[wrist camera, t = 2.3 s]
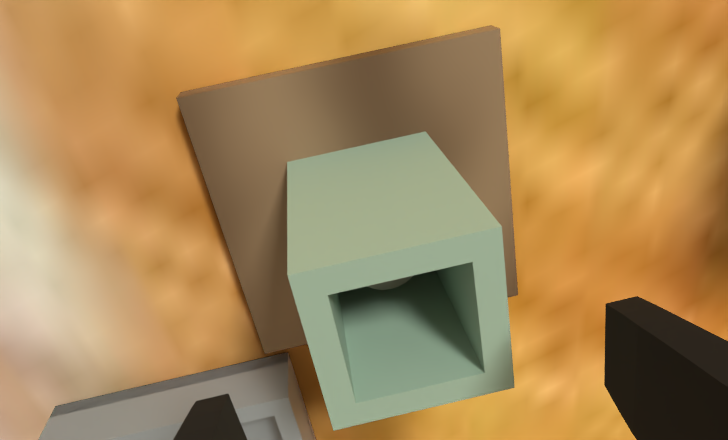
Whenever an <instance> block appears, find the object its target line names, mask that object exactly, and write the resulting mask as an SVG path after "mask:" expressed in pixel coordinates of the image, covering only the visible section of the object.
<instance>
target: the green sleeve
mask: <svg viewBox="0 0 728 440" xmlns="http://www.w3.org/2000/svg"><path fill="white" fill-rule="evenodd" d="M287 276H288V279H289V282H290V286H291V289H292V292H293V296H294V299H295V303H296V306H297V309H298V313H299V316H300V319H301V323H302V326H303V330H304V333H305V336H306V340H307V343H308V346H309V350H310V353H311V357H312V360H313V363H314V367H315V370H316V373H317V377H318V380H319V384H320V387H321V390H322V394H323V397H324V400H325V404H326V407H327V411H328V414H329V417H330V421H331V424H332V427H333V431H334V430H339V429H343V428H347V427H351V426H355V425H360V424H364V423H368V422H372V421H376V420H381V419H385V418H389V417H393V416H397V415H402V414H406V413H410V412H414V411H418V410H423V409H427V408H431V407H435V406H439V405H443V404H448V403H452V402H456V401H460V400H464V399H469V398H473V397H477V396H481V395H485V394H490V393H494V392H498V391H502V390H506V389H511V388H514V375H513V363H512V350H511V337H510V324H509V312H508V299H507V286H506V273H505V261H504V248H503V235H502V226H501V225H500V224H499V222H498V221H497V220H496V219H495V217H494V216H493V215H492V214H491V212H490V211H489V210H488V209H487V207H486V206H485V205H484V204H483V202H482V201H481V200H480V199H479V197H478V196H477V195H476V194H475V192H474V191H473V190H472V189H471V187H470V186H469V185H468V184H467V182H466V181H465V180H464V179H463V177H462V176H461V175H460V174H459V172H458V171H457V170H456V169H455V167H454V166H453V165H452V164H451V163H450V161H449V160H448V159H447V158H446V156H445V155H444V154H443V153H442V151H441V150H440V149H439V148H438V146H437V145H436V144H435V143H434V141H433V140H432V139H431V138H430V136H429V135H428V134H427V133H426V131H425V132H421V133H416V134H412V135H407V136H403V137H398V138H394V139H389V140H384V141H380V142H375V143H371V144H366V145H362V146H357V147H353V148H348V149H344V150H339V151H335V152H330V153H326V154H321V155H317V156H312V157H308V158H303V159H299V160H294V161H290V162H287ZM409 276H412V277H411V278H410V279H409V280H408V281H407V282H406V283H404V284H402V285H401V286H398V287H396V288H392V289H387V290H378V289H373V288H370V287H368V286H370V285H374V284H378V283H383V282H387V281H392V280H396V279H400V278H405V277H409Z"/></svg>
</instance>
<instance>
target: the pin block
mask: <svg viewBox="0 0 728 440" xmlns="http://www.w3.org/2000/svg"><path fill="white" fill-rule="evenodd" d="M177 101H178V104H179V107H180V110H181V113H182V116H183V119H184V122H185V124H186V127H187V130H188V133H189V136H190V139H191V142H192V145H193V148H194V150H195V153H196V156H197V159H198V162H199V165H200V168H201V171H202V174H203V177H204V179H205V182H206V185H207V188H208V191H209V194H210V197H211V200H212V203H213V205H214V208H215V211H216V214H217V217H218V220H219V223H220V226H221V229H222V231H223V234H224V237H225V240H226V243H227V246H228V249H229V252H230V255H231V257H232V260H233V263H234V266H235V269H236V272H237V275H238V278H239V281H240V283H241V286H242V289H243V292H244V295H245V298H246V301H247V304H248V307H249V309H250V312H251V315H252V318H253V321H254V324H255V327H256V330H257V333H258V335H259V338H260V341H261V344H262V347H263V350H264V353H265V354H267V353H271V352H275V351H280V350H284V349H288V348H293V347H297V346H301V345H305V344H308V343H307V340H306V336H305V333H304V330H303V326H302V323H301V319H300V316H299V313H298V309H297V306H296V303H295V299H294V296H293V292H292V289H291V286H290V282H289V279H288V276H287V162H290V161H294V160H299V159H303V158H308V157H312V156H317V155H321V154H326V153H330V152H335V151H339V150H344V149H348V148H353V147H357V146H362V145H366V144H371V143H375V142H380V141H384V140H389V139H394V138H398V137H403V136H407V135H412V134H416V133H421V132H425V131H426V133H427V134H428V135H429V136H430V138H431V139H432V140H433V141H434V143H435V144H436V145H437V146H438V148H439V149H440V150H441V151H442V153H443V154H444V155H445V156H446V158H447V159H448V160H449V161H450V163H451V164H452V165H453V166H454V167H455V169H456V170H457V171H458V172H459V174H460V175H461V176H462V177H463V179H464V180H465V181H466V182H467V184H468V185H469V186H470V187H471V189H472V190H473V191H474V192H475V194H476V195H477V196H478V197H479V199H480V200H481V201H482V202H483V204H484V205H485V206H486V207H487V209H488V210H489V211H490V212H491V214H492V215H493V216H494V217H495V219H496V220H497V221H498V222H499V224H500V225H501V226H502V235H503V248H504V261H505V273H506V286H507V297H512V296H516V295H518V288H517V273H516V259H515V244H514V229H513V214H512V199H511V185H510V170H509V155H508V140H507V125H506V111H505V96H504V81H503V66H502V51H501V37H500V28H497V27H494V26H486V27H482V28H477V29H473V30H468V31H463V32H459V33H454V34H449V35H445V36H440V37H435V38H431V39H426V40H421V41H417V42H412V43H408V44H403V45H398V46H394V47H389V48H384V49H380V50H375V51H370V52H366V53H361V54H356V55H352V56H347V57H343V58H338V59H333V60H329V61H324V62H319V63H315V64H310V65H305V66H301V67H296V68H291V69H287V70H282V71H278V72H273V73H268V74H264V75H259V76H254V77H250V78H245V79H240V80H236V81H231V82H226V83H222V84H217V85H213V86H208V87H203V88H199V89H194V90H189V91H185V92H181V93H180V94H179V96H178V97H177ZM411 277H412V276H409V277H405V278H400V279H396V280H392V281H387V282H383V283H378V284H374V285H370V286H368V287H370V288H373V289H378V290H387V289H392V288H396V287H398V286H401V285H402V284H404V283H406V282H407V281H408V280H409V279H410V278H411Z"/></svg>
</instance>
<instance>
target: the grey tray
mask: <svg viewBox="0 0 728 440" xmlns="http://www.w3.org/2000/svg"><path fill="white" fill-rule="evenodd" d="M224 394H229V396H230V399H231V401H232V403H233V406H234V408H235V411H236V413H237V416H238V418H239V421H240V423H241V425H242V428H243V430H244V433H245V435H246V438H247V440H316V438H315V435H314V432H313V429H312V426H311V422H310V419H309V416H308V413H307V410H306V407H305V404H304V401H303V398H302V394H301V391H300V388H299V385H298V382H297V379H296V376H295V373H294V369H293V366H292V363H291V360H290V357H289V354H288V352H287V353H282V354H278V355H274V356H269V357H265V358H261V359H257V360H252V361H248V362H244V363H239V364H235V365H231V366H226V367H222V368H218V369H214V370H209V371H205V372H201V373H196V374H192V375H188V376H184V377H179V378H175V379H171V380H166V381H162V382H158V383H153V384H149V385H145V386H141V387H136V388H132V389H128V390H123V391H119V392H115V393H111V394H106V395H102V396H98V397H93V398H89V399H85V400H80V401H76V402H72V403H68V404H63V405H59V406H55V408H54V410H53V412H52V414H51V416H50V418H49V420H48V422H47V424H46V426H45V428H44V430H43V432H42V433H41V435H40V437H39V439H38V440H173V439H174V437H175V435H176V434H177V432H178V430H179V428H180V427H181V425H182V423H183V421H184V420H185V418H186V416H187V414H188V413H189V411H190V409H191V408H192V406H193V405H194V403H195V402H196V401H198V400H202V399H207V398H211V397H215V396H219V395H224Z"/></svg>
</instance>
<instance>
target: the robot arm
mask: <svg viewBox="0 0 728 440" xmlns="http://www.w3.org/2000/svg"><path fill="white" fill-rule="evenodd" d="M604 385H605V387H606V388H607V390H608V392H609V394H610V396H611V397H612V399H613V401H614V403H615V405H616V406H617V408H618V410H619V412H620V413H621V415H622V417H623V418H624V420H625V422H626V423H627V425H628V427H629V428H630V430H631V432H632V434H633V435H634V436H635V438H636V439H637V440H728V341H726V340H724V339H722V338H720V337H718V336H716V335H714V334H712V333H710V332H708V331H706V330H704V329H702V328H700V327H698V326H696V325H694V324H692V323H690V322H688V321H686V320H684V319H682V318H681V317H679V316H677V315H675V314H673V313H671V312H669V311H667V310H665V309H663V308H661V307H659V306H657V305H655V304H652V303H650V302H648V301H646V300H644V299H642V298H640V297H632V298H628V299H624V300H620V301H615V302H611V303H607V304H606V323H605V384H604ZM173 440H247V438H246V435H245V433H244V430H243V428H242V425H241V423H240V421H239V418H238V416H237V413H236V411H235V408H234V406H233V403H232V401H231V399H230V396H229V394H224V395H219V396H215V397H211V398H207V399H202V400H198V401H196V402H195V403H194V405H193V406H192V408H191V409H190V411H189V413H188V414H187V416H186V418H185V420H184V421H183V423H182V425H181V427H180V428H179V430H178V432H177V434H176V435H175V437H174V439H173Z"/></svg>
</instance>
